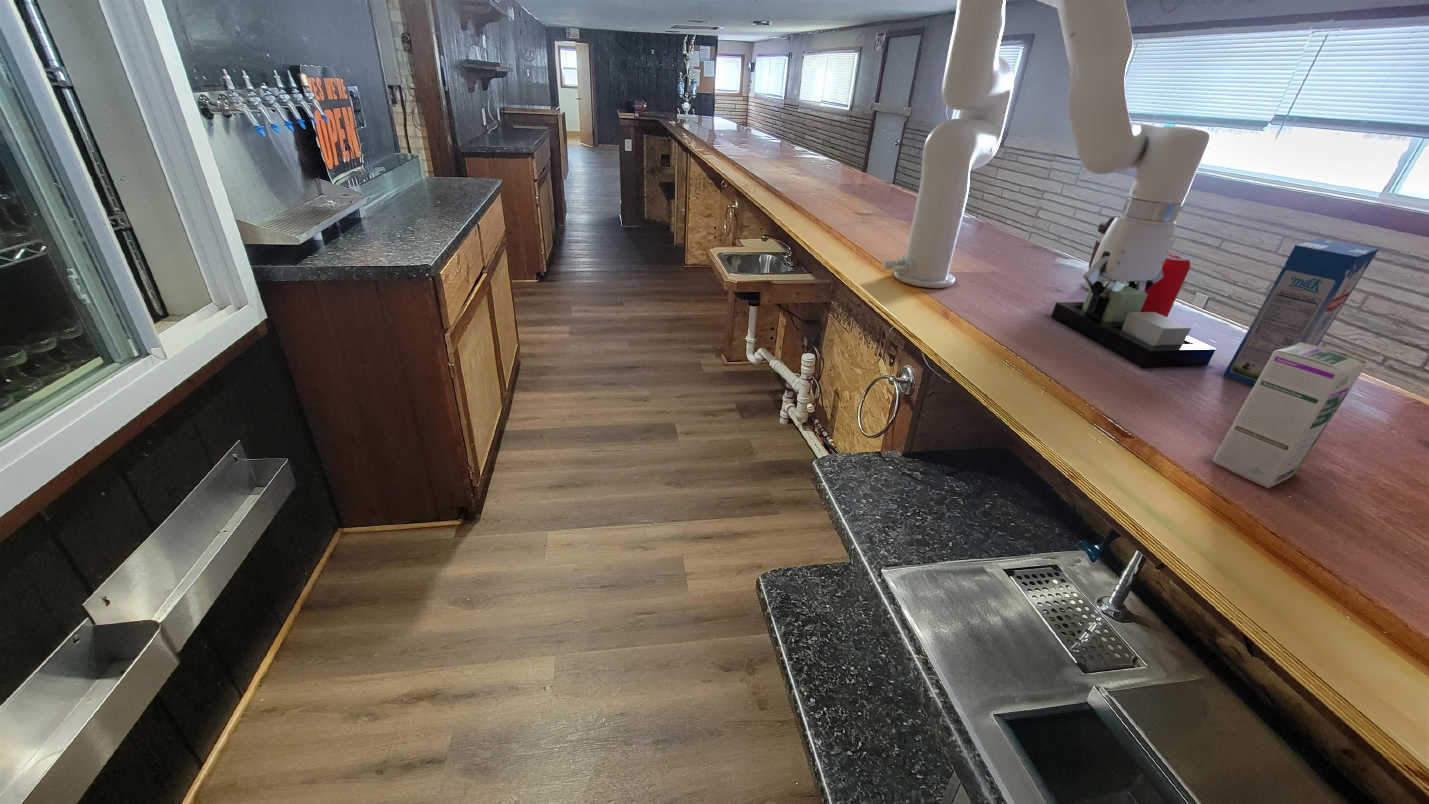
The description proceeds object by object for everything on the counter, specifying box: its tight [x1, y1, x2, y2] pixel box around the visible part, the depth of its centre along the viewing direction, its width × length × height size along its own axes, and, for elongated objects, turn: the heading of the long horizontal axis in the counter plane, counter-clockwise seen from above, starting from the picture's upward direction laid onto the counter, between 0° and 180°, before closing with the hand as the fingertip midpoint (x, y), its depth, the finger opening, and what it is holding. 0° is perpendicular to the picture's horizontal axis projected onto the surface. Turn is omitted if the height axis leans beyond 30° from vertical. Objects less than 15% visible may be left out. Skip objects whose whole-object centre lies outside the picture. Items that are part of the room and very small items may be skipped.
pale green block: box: [1082, 281, 1148, 322], centre depth 99 cm, size 5×7×6 cm
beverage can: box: [1140, 251, 1191, 318], centre depth 105 cm, size 6×6×12 cm
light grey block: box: [1121, 312, 1192, 346], centre depth 92 cm, size 5×7×6 cm
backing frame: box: [1050, 301, 1217, 369], centre depth 97 cm, size 12×22×3 cm, turn 9°
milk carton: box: [1222, 238, 1380, 387], centre depth 82 cm, size 10×6×20 cm, turn 122°
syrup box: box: [1212, 342, 1368, 489], centre depth 61 cm, size 6×6×14 cm
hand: (1107, 315), depth 100 cm, fingers closed on pale green block, 5 cm apart
